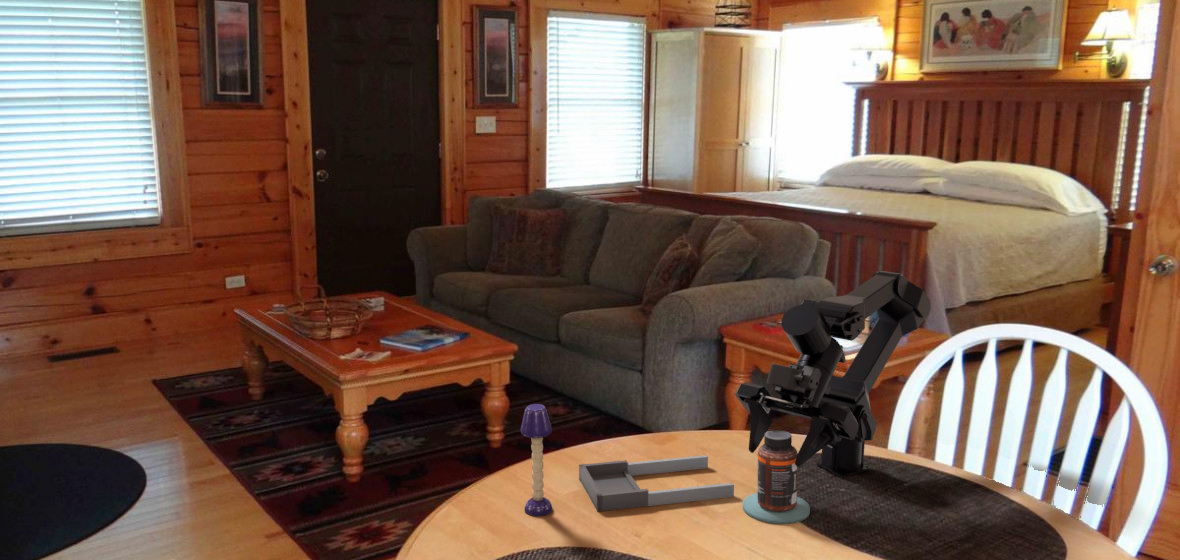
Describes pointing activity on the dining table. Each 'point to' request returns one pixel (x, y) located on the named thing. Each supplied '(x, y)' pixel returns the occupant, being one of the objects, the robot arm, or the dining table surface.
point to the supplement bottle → (777, 472)
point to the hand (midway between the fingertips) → (773, 458)
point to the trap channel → (620, 491)
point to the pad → (785, 517)
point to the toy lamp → (537, 456)
